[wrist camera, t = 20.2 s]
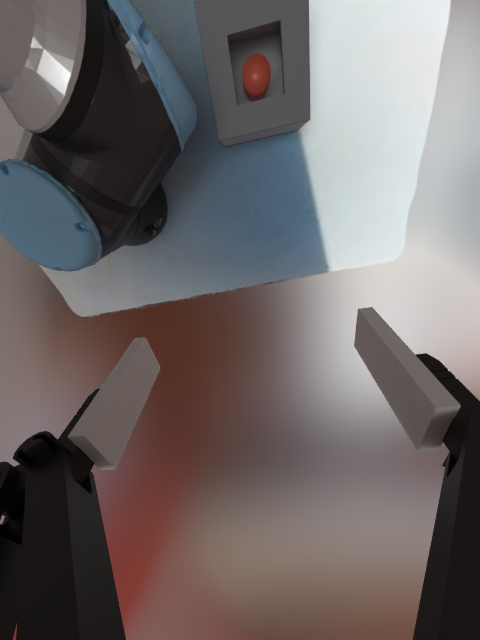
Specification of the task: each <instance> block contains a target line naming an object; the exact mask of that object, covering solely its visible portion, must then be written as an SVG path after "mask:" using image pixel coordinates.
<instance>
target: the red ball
mask: <svg viewBox="0 0 480 640" xmlns="http://www.w3.org/2000/svg"><path fill="white" fill-rule="evenodd" d="M270 76H271V69H270V65H269V62H268V60H267V59H266V57H265V56H263V55H262V54H258V53H256V54H253V55H251V56H250V57H249V58H248V59H247V60H246V62H245V64H244V67H243V72H242V77H243V89H244V93H245V95H246V97H247V98H248V99H249V100H251V101H257V100H261V99H262V98H263V97H264V96H265V95H266V92H267V89H268V85H269V81H270Z"/></svg>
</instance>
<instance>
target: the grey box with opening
mask: <svg viewBox="0 0 480 640" xmlns="http://www.w3.org/2000/svg"><path fill="white" fill-rule="evenodd" d="M194 6H195V11H196V17H197V22H198V28H199V33H200V39H201V44H202V50H203V55H204V61H205V66H206V72H207V77H208V83H209V88H210V94H211V100H212V105H213V111H214V116H215V122H216V127H217V133H218V138H219V141H220V142H221V143H222V144H223V145H224V146H229V145H234V144H238V143H242V142H247V141H251V140H256V139H260V138H264V137H269V136H273V135H278V134H282V133H286V132H291V131H295V130H298V129H299V128H300V127H302V126H303V125H304V124H305V123H306V122H308V121H309V120H310V64H309V0H198V1H194ZM256 53H258V54H262V55H263V56H265V57H266V59H267V60H268V62H269V65H270V69H271V76H270V81H269V85H268V89H267V92H266V95H265V96H264V97H263V98H262V99H261V100H257V101H251V100H249V99H248V98H247V97H246V95H245V93H244V89H243V77H242V72H243V67H244V64H245V62H246V60H247V59H248V58H249V57H250V56H251V55H253V54H256Z"/></svg>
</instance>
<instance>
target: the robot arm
mask: <svg viewBox="0 0 480 640" xmlns="http://www.w3.org/2000/svg"><path fill="white" fill-rule="evenodd" d="M0 96H1V97H2V99H3V100H4V102H5V103H6V105H7V106H8V108H9V110H10V111H11V113H12V114H13V116H14V118H15V119H16V121H17V122H18V124H19V125H21V126H22V127H23V128H25V129H26V130H28V131H29V132H32V133H33V135H32V138H31V140H30V143H29V146H28V148H27V151H26V153H25V156H24V158H23V160H17V159H8V160H6V161H2V162H1V163H0V233H1V234H2V235H3V236H4V238H5V239H6V240H7V241H8V242H9V243H10V244H11V245H12V246H13V247H15V249H17V250H18V251H19V252H21V253H22V254H23V255H24V256H26V257H27V258H29V259H31V260H32V261H34V262H36V263H38V264H40V265H42V266H44V267H47V268H50V269H53V270H58V271H77V270H80V269H82V268H85V267H88V266H91V265H94V264H95V263H96V262H98V261H99V260H100V259H101V258H103V257H105V256H106V255H108V254H110V253H111V252H113V251H115V250H116V249H118V248H120V247H121V246H123V245H128V246H137V245H142V244H145V243H147V242H149V241H151V240H152V239H154V238H155V237H156V236H157V235H158V234H159V233H160V232H161V231H162V229H163V227H164V225H165V222H166V218H167V201H166V197H165V193H164V191H163V188H162V186H161V184H160V181H161V180H162V178H163V177H164V175H165V174H166V173H167V171H168V170H169V168H170V167H171V165H172V164H173V162H174V161H175V160H176V158H177V157H178V155H179V154H180V153H182V152H183V150H184V145H185V143H186V142H187V140H188V138H189V137H190V135H191V134H192V132H193V130H194V129H195V127H196V124H197V107H196V104H195V101H194V99H193V97H192V95H191V93H190V91H189V89H188V87H187V86H186V84H185V82H184V80H183V79H182V77H181V75H180V74H179V72H178V70H177V69H176V67H175V66H174V64H173V63H172V61H171V59H170V58H169V56H168V55H167V53H166V52H165V50H164V49H163V47H162V46H161V44H160V43H159V41H158V40H157V38H156V37H155V36H154V35H153V34H152V33H151V32H150V29H149V27H148V26H147V24H146V23H145V22H144V20H143V19H142V17H141V15H140V14H139V12H138V10H137V9H136V8H135V6H134V5H133V3H132V2H131V1H130V0H0ZM354 346H355V348H356V350H357V351H358V353H359V355H360V356H361V358H362V360H363V361H364V363H365V365H366V366H367V368H368V370H369V371H370V373H371V375H372V376H373V378H374V380H375V381H376V383H377V385H378V386H379V388H380V390H381V391H382V393H383V394H384V396H385V398H386V400H387V401H388V403H389V405H390V406H391V408H392V410H393V411H394V413H395V415H396V416H397V418H398V419H399V421H400V423H401V424H402V426H403V428H404V429H405V431H406V433H407V434H408V436H409V438H410V439H411V441H412V443H413V444H414V446H415V448H416V449H417V451H429V450H439V448H440V446H441V444H442V442H444V444H445V445H446V446H447V448H448V449H449V451H450V452H449V454H448V456H447V458H446V460H445V461H444V463H443V465H442V466H444V467H445V473H444V478H443V483H442V489H441V494H440V499H439V504H438V509H437V515H436V520H435V525H434V531H433V536H432V541H431V546H430V551H429V557H428V562H427V567H426V573H425V578H424V583H423V588H422V594H421V599H420V604H419V609H418V615H417V620H416V625H415V630H414V636H413V640H480V401H479V400H478V399H477V398H476V397H475V396H474V395H473V394H472V393H471V392H470V391H469V390H468V389H467V388H466V387H465V386H464V385H463V384H462V383H461V382H460V381H459V380H458V379H456V378H455V376H454V375H453V374H452V373H451V372H450V371H448V369H447V368H446V367H445V366H444V365H443V364H442V363H441V362H440V361H439V360H437V359H435V358H433V357H432V356H430V355H428V354H417V355H415V354H414V353H413V352H412V351H411V350H410V349H409V348H408V346H407V345H406V344H405V343H404V342H403V341H402V340H401V339H400V338H399V336H398V335H397V334H396V333H395V332H394V331H393V330H392V329H391V328H390V326H389V325H388V324H387V323H386V322H385V321H384V320H383V319H382V318H381V317H380V315H379V314H378V313H377V312H376V311H375V310H374V309H373V308H372V307H370V308H363V309H358V315H357V324H356V334H355V343H354ZM159 370H160V366H159V364H158V362H157V360H156V358H155V356H154V354H153V352H152V350H151V347H150V345H149V343H148V342H147V339H146V338H145V337H143V338H135V339H134V340H133V341H132V343H131V344H130V346H129V347H128V349H127V350H126V352H125V353H124V355H123V356H122V358H121V359H120V360H119V362H118V363H117V365H116V367H115V368H114V369H113V371H112V372H111V374H110V375H109V377H108V378H107V380H106V381H105V382H104V384H103V386H102V387H101V388H100V389H97V390H95V391H94V392H93V393H92V394H91V395H90V396H89V397H88V398H87V399H86V401H85V402H84V403H83V405H82V407H81V408H80V409H79V410H78V412H77V415H75V416H74V418H73V419H72V420H71V422H70V423H69V425H68V426H67V427H66V429H65V430H64V432H63V433H62V434H61V436H60V437H59V439H58V440H57V439H56V438H55V437H54V436H53V435H52V434H51V433H50V432H47V431H44V432H39V433H37V434H35V435H33V436H31V437H30V438H28V439H27V440H26V441H25V442H24V443H23V444H21V445H20V446H19V448H18V449H17V450H16V452H15V453H14V456H13V459H14V460H16V461H17V462H18V463H20V465H17V466H15V467H14V466H12V465H11V464H9V463H8V462H1V463H0V519H1V516H2V515H3V516H5V519H4V522H3V523H2V525H1V524H0V640H13V636H14V632H15V628H16V624H17V635H16V640H126V638H125V633H124V627H123V622H122V617H121V612H120V607H119V602H118V597H117V592H116V587H115V582H114V577H113V572H112V566H111V561H110V556H109V552H108V546H107V542H106V536H105V531H104V526H103V521H102V516H101V511H100V506H99V501H98V495H97V490H96V485H95V481H94V475H93V474H92V472H91V469H92V467H93V465H94V464H95V465H96V466H97V467H98V468H99V469H100V470H111V469H116V467H117V465H118V462H119V460H120V458H121V456H122V454H123V451H124V449H125V447H126V445H127V442H128V440H129V438H130V436H131V433H132V431H133V429H134V427H135V424H136V422H137V420H138V418H139V415H140V413H141V411H142V409H143V406H144V404H145V402H146V399H147V397H148V395H149V393H150V390H151V389H152V386H153V384H154V382H155V380H156V377H157V375H158V373H159Z"/></svg>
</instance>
